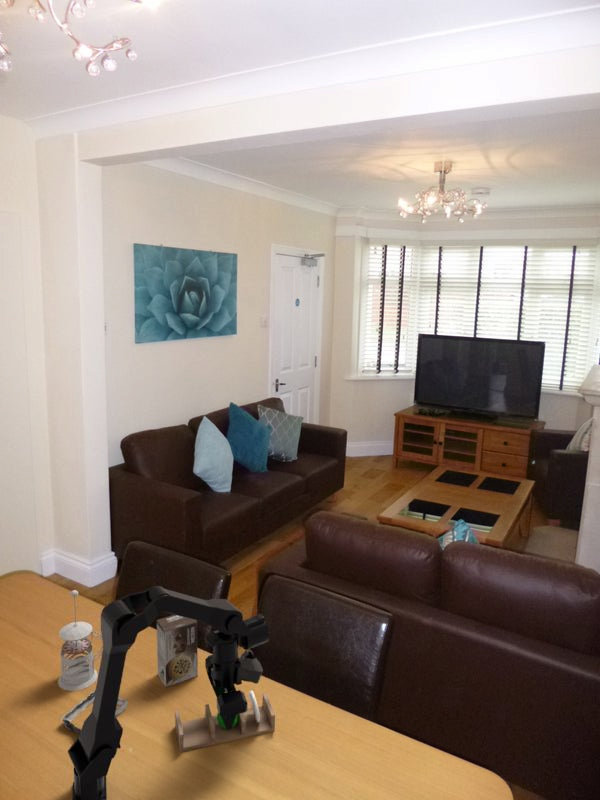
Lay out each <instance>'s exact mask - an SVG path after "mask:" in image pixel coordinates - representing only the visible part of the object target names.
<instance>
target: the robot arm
mask: <svg viewBox="0 0 600 800" xmlns="http://www.w3.org/2000/svg"><path fill="white" fill-rule="evenodd" d="M142 608H145V609H144V610H142V612H140V613H138V614H136V613H135V612H134V610H137V609H142ZM163 613H167V614H169V615H170V614H171V615H178V616H182V617H186V618H190V619H194V620H196V621H197V622H202V623H205V624H207V625H208V626H210V627H211V628H213V629H214V630H215V631H214V630H213V629H211V630H210V632H209V633H207V634H206V635H205V636H204V638H203V640H205V643H207V644H208V645H209V646H210V647H211V648H212V654H211V655H208V656H207V657H206V658H205V660H204V661H205V662H204V663H205V664H204V667H205V670H206V674H207V678H208V680H209V682H210V685H211V687H212V690H213V692H214V694H215V696H216V709H217V712H218V713H219V715H220V717H221V719H222V721H223V722H224V725H225V727H226V729H227V730H228V729H231V728H232V726H233V723H234V721H235V718H236V716H237V714H240V713H245V712H246V711H247V709H248V705H249V704H248V700H247V698H246V695H245V693H244V692H243V690H240V689H239V690H237V688H236V686H240V685H242V684H243V683H242V681H243V682H246V683H248V682H249V683H253V684H256V685H257V684H258V683H259V682H260V679H261V677H262V674H263V672H264V669H263V666H262V665H261V663H260V661H259V660H258V658H257V657H254V653H253V651H252V650H250V649H252V648H255V647H259V646H260V645H263V644H265V643H267V642H269V641H270V639H271V638H270V637H271V633H270V631H269V627H268V625H267V623H266V617H265V616H264V615H262V613H258V614H255V615H254V616H252V617H249V618H246V619H244V616H243V613H242V612H241V611H240V610H239V609H238V608H237V607H236V606H234V604H232V603H231V602H230V601H229V600H228V599H226V598H225V599H224V598H212V599H202V598H199V597H195V596H191V595H188V594H185V593H180V592H178V591H173V590H170V589H167V588H163V586H159V585H154V586H151V587H149V588H148V589H146V590H142V591H138V592H132V593H129V594H127V595H125V596H122V597H121V598H120V599H119V598H118V599H117V600H116V599H115V600H113V601H111V602H108V604H106V606H104V607H103V608H102V609H101V613H100V632H101V633H100V634H101V635H102V637H101V638H102V640H103V642H102V645H103V648H102V650H103V652H102V651H101V653H102V655H101V658H100V663H99V669H98V673H97V674H98V676H97V679H96V681H97V682H96V686H95V690H96V691H95V690H94V691H95V697H94V702H92V703H93V704H92V709H91V712H90V714H89V715H88V716H87V717H86V719H84V721H83V724H82V726H81V728H80V729H81V732H80V735H79V734H78V737H77V739H75V741H74V742H73V743H72V744H71V746H70V747H69V749H68V750H67V754H68V756H69V758H70V761H71V763H72V764H73V782H72V800H107V799H108V798H107V794H108V793H107V775H108V772H109V769H110V766H111V763H112V761H113V759H114V758H115V757H116V755H117V752H118V749H121V747H122V745H121V740H122V736H123V734H124V728H123V726H122V724H121V723H120V722H119V720H118V718H117V716H115V713H116V709H118V708H117V707H118V704H117V702H118V698H119V697H120V690H121V685H122V681H123V680H122V679H123V673H124V669H125V664H126V658H127V654H128V651H129V650H130V649H131V647H132V646H133V645H134V644H135V642H136V640H137V637H138V634H139V633H141V632H143V631H144V630H147V628H149V627H150V626H151V624H152V623H154V621H155V620H157V618H158V617H159V616H160V615H162V614H163ZM102 640H101V641H102ZM239 647H240V648H242V649H243V650H244V652H243V653H242V654H241V655H240V657H239ZM235 685H236V686H235ZM218 713H217V714H218Z"/></svg>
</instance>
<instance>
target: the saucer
mask: <svg viewBox="0 0 600 800" xmlns="http://www.w3.org/2000/svg"><path fill="white" fill-rule="evenodd" d="M248 698H249V702H250V705H251V706H250V708H252V711H253V714H254V717H255V720H256V722H257V723H258V722H261V719H260V713H259V709H258V707H259V706H258V702H257V698H256V694H255V693H254V690H248Z"/></svg>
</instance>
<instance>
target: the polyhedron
mask: <svg viewBox="0 0 600 800" xmlns="http://www.w3.org/2000/svg"><path fill="white" fill-rule="evenodd" d="M216 715H217V721H218V723H219V725H220V726H221V727H223V728H225V729H226V727H225V725H224V722H223V721H222V719H221V717H220V715H219V713H217V714H216ZM238 718H239V714H237V716H236V718H235V721H234V723H233V726H232V727H234V726H235V724H236V723H237V721H238Z"/></svg>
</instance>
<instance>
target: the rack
mask: <svg viewBox="0 0 600 800" xmlns="http://www.w3.org/2000/svg"><path fill="white" fill-rule="evenodd" d="M261 701H262V705H260V706H258V709H259V713H260V719H261V722H258V723H257V722H256V720H255V717H254V714H253V711H252V707H250V708H247V711H246V712H245V713H240V714H239V718H238V721H237V723H236V724H235V726H234V727H232V728H231V729H228V730H227V729H225V728H223V727H221V726H220V725H219V723H218V721H217V714H216V715H212V712H211V707H210V704H209V703H207V704H205V705H204V706H205V707H204V709H205V710H204V712H205V713H204V717H201V718H196V719H192V720H186V721H181V715H180V711H179V709H177V710H174V723H175V724H174V725H175V726H174V727H175V732H176V738H177V743H178V748H179V752H180V753H181V752H185V751H190V750H195V749H199V748H204V747H208V746H213V745H217V744H222V743H226V742H231V741H235V740H241V739H245V738H249V737H253V736H258V735H264V734H267V733H272V732H275V731H276V730H275V729H276V728H275V726H276V713H275V711H274V709H273V707H272V704H271V701H270V699H269V697H268V695H267V692H263V693H262V700H261Z"/></svg>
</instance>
